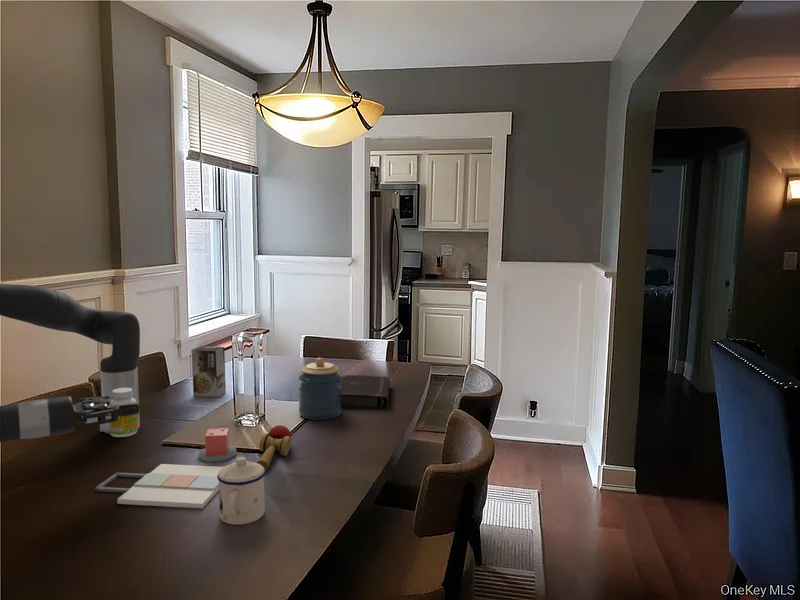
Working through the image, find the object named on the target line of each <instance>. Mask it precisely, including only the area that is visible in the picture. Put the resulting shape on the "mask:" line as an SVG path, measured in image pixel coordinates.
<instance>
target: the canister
mask: <svg viewBox="0 0 800 600" xmlns="http://www.w3.org/2000/svg"><path fill="white" fill-rule="evenodd" d="M339 369H340V368H339V367H338V366H336V365H335V364H334V363H331V362H326V361H325V359H324V358H323V357H318V358H316V360H315V362H311V363H308V364H306V365H304V366H303V367H302V368H301V372H302V373H300V375H299V376H298V380H299V381H300V382H299V383H300V384H299V387H298V392H299V393H298V395H299V397H298V398H299V403H298V404H299V405H298V413H299V416H300V417H301V416H302V417H301V418H303V417H304V418H303V419H305V418H306V420H311V421H325V420H332V419H334V418H337V417H339V416H340V415H341V414H342V413H341V412H342V408H341V385H340V379H341V376H342V375H341V374H340V373H339V372H338V371H339Z"/></svg>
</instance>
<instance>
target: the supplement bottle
mask: <svg viewBox="0 0 800 600" xmlns="http://www.w3.org/2000/svg"><path fill="white" fill-rule="evenodd" d="M112 396H113V398H114V399H113V400H111V401H110V403H109V406H120V405H127V404H134V403H137V402H136V399H134V398H132V396H133V390H132V389H131V388H118V389H114V390H113V391H112ZM109 415H111V413H109ZM137 432H138V429H137V414H133V415H127V416H120V418H118V421H115V422H110V434H109V435H111V437H114V438H125V437H130V436H133V435H135V434H137Z"/></svg>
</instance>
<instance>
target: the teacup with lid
mask: <svg viewBox="0 0 800 600" xmlns="http://www.w3.org/2000/svg"><path fill="white" fill-rule="evenodd" d="M235 459H236V460H235V461H234V462H233V463H230V464H227V465H225V466H222V467H223V468H222V469H221V470H220V471H219V472H218V475H217V478H218V480H219V491H218V505H219V507H218V508H219V509H218V510H219V518H220V520H221V521H222V522H224V523H225V524H229V525H234V526H239V525H248V524H252V523H254V522H256V521H258V520H259V519H261V518H262V517H264V514H265V512H266V511H265V509H266V508H265V507H266V506H265V503H266V502H265V476H266V475H265V474H266V471H265V470H264V467H263V466H262V465H260V464H258V463H257V462H253V461H249V460H247V458H246V457H245V456H239V457H237V458H235Z"/></svg>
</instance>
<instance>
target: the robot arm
mask: <svg viewBox="0 0 800 600" xmlns="http://www.w3.org/2000/svg"><path fill="white" fill-rule="evenodd" d="M0 316H2V317H6V318H8V319H12V320H16V321H20V322H23V323H27V324H32V325H33V326H37V327H42V328H45V329H49V330H55V331H58V332H60V331H61V332H68V333H69V332H70V333H75V334H79V335H81V336H84V337H86V338H89V340H93V341H96V342H98V343H101V344H103V345H111V346H112V348H111V349H112V350H111V351H112V352H111V355H109V356H106V357H104V358H102V359H101V360H100V363H99V370H100V386H101V387H100V388H101V396H93V397H81V398H79V400H78V401H79V402H77V403H74V401H73V397H71V396H70V395H64V396H57V397H50V398H41V399H40V398H39V399H34V400H28V401H24V402H21V403H12V404H4V405H0V443H4V442H10V441H17V440H23V439H38V438H43V437H44V438H45V437H50V436H56V435H63V434H69V433H70V434H71V433H72V432H73V431H74V430H75V424H76V423H77V424H78V423H84V424H86V427H87V428H92V427H95V426H99V432H102V433H103V432H104V433H105V434H109V435H111V434H110V422H115V421H118V418H120V416H127V415H133V414H137V430H139V428H140V426H141V425H140V424H141V423H140V421H141V419H140V399H139V397H140V396H139V395H140V394H139V373H138V372H139V371H138V362H139V358H140V352H141V351H140V350H141V348H140V347H141V328H140V323H139V319H138V317H137V316H136V315H135V314H134V313H132V312H128V311H120V310H119V311H117V310H101V309H95V308H91V307H88V306H84V305H83V304H81V303H79V301H77V300H76V298H74V297H73V296H71V295H68V294H66V293H64V292H61V291H58V290H55V289H53V288H50V287H44V286H40V285H30V284H13V283H12V284H9V283H0ZM118 388H131V389H132V390H133V396H132V398H134V399H136V402H137V403H134V404H127V405H120V406H109V403H110V401H111V400H113V399H114V398H113V396H112V391H113V390H114V389H118ZM109 413H111V415H109Z"/></svg>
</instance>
